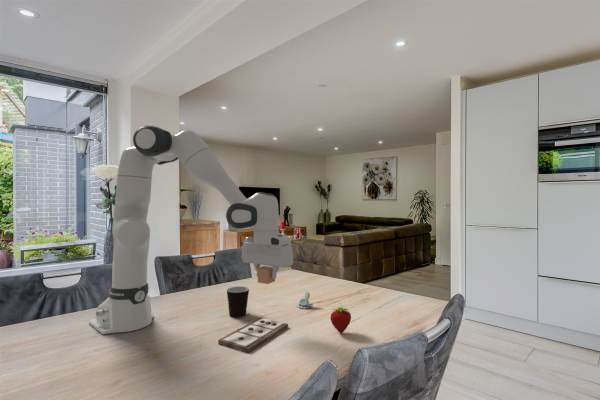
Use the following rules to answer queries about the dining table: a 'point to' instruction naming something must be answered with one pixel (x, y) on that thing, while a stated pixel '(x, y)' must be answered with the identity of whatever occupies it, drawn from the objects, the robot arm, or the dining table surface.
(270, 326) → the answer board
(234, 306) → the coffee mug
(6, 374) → the dining table surface
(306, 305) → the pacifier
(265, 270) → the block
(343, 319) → the strawberry
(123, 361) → the dining table surface
